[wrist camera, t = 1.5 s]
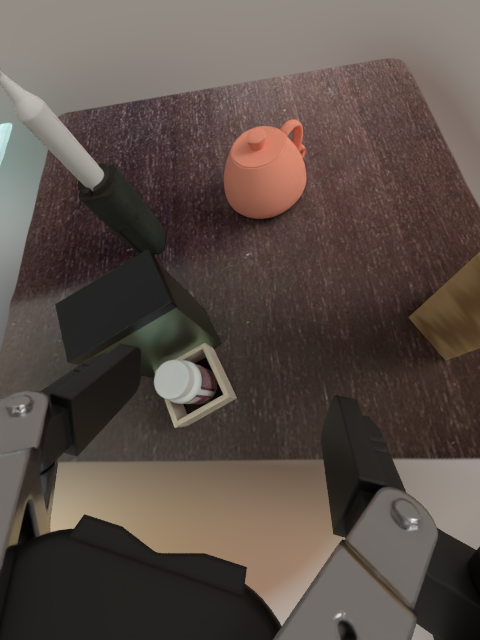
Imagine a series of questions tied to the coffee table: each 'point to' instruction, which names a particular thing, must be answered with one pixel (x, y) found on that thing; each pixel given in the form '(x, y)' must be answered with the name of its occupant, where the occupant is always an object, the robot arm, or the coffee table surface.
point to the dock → (183, 419)
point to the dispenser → (134, 316)
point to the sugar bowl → (266, 171)
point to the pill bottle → (185, 382)
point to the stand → (453, 313)
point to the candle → (90, 175)
